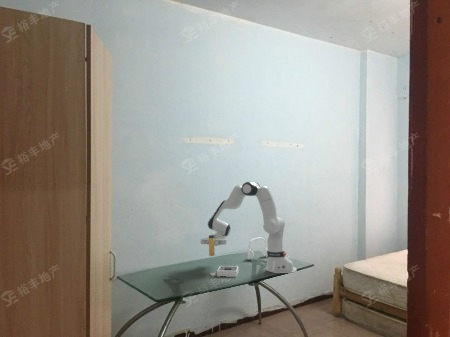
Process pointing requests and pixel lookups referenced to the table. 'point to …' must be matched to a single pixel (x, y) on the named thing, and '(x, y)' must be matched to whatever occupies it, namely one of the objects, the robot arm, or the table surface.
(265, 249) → the headset
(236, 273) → the walled box
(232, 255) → the table surface
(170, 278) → the table surface
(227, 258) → the table surface
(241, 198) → the robot arm
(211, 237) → the cylinder
